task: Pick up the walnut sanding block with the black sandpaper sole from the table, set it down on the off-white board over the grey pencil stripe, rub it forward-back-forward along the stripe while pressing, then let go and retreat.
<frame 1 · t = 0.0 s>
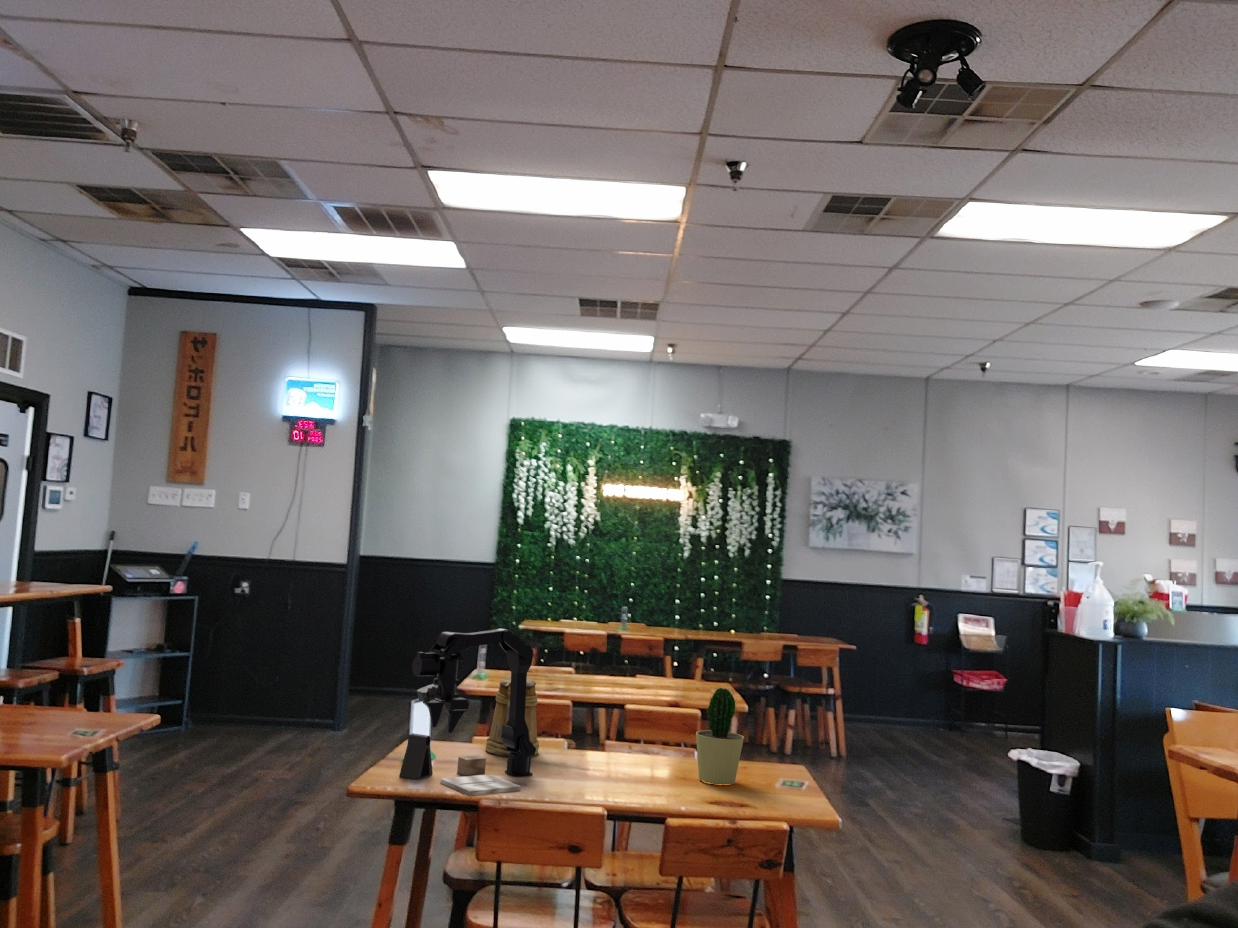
hand: (442, 729, 296), 15 cm above the table, fingers open, 9 cm apart
board: (480, 786, 293), on the table
sanding block: (470, 774, 308), on the table
potted cactus: (716, 782, 323), on the table
phone stand: (415, 776, 300), on the table
tankard: (510, 753, 343), on the table
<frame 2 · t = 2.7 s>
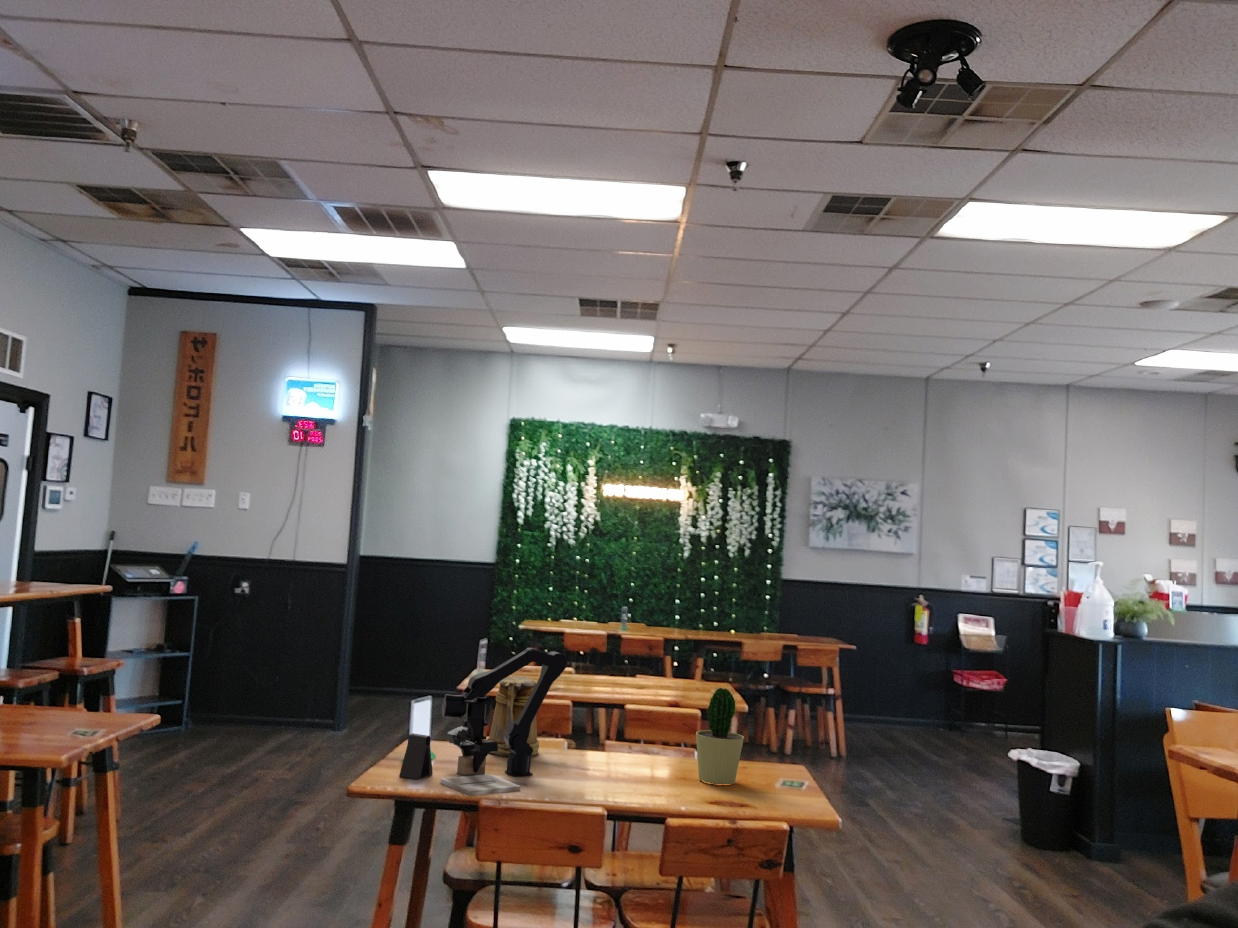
hand: (471, 770, 308), 1 cm above the table, fingers closed on sanding block, 4 cm apart
sanding block: (470, 773, 308), on the table, touching gripper
everything else where it was.
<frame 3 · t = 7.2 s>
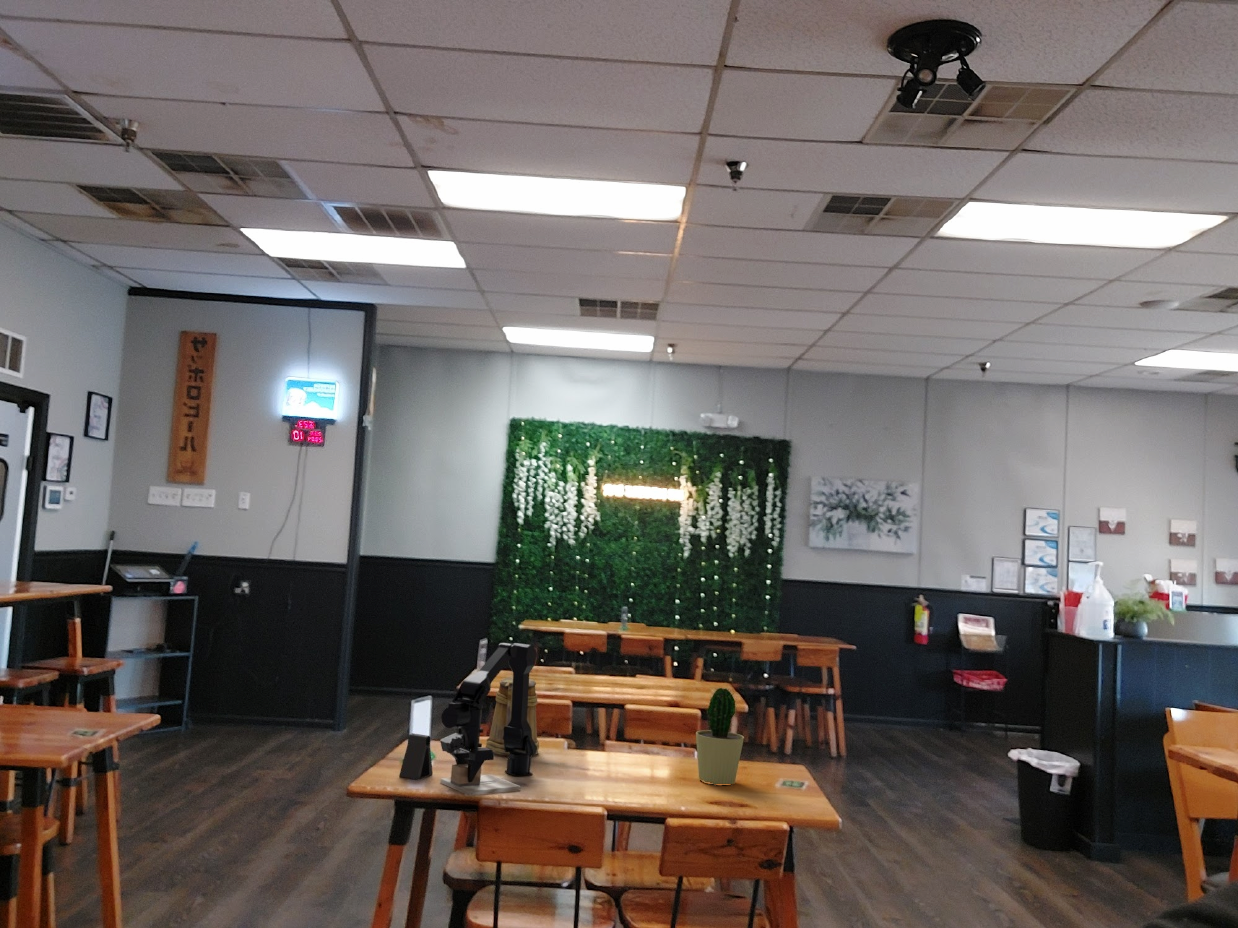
hand: (465, 780, 289), 2 cm above the table, fingers closed on sanding block, 4 cm apart
sanding block: (465, 783, 289), point 1 cm above the table, touching gripper
everything else where it was.
when the fingers open (2 cm above the table, at t = 11.8 s): sanding block stays where it is, resting on board.
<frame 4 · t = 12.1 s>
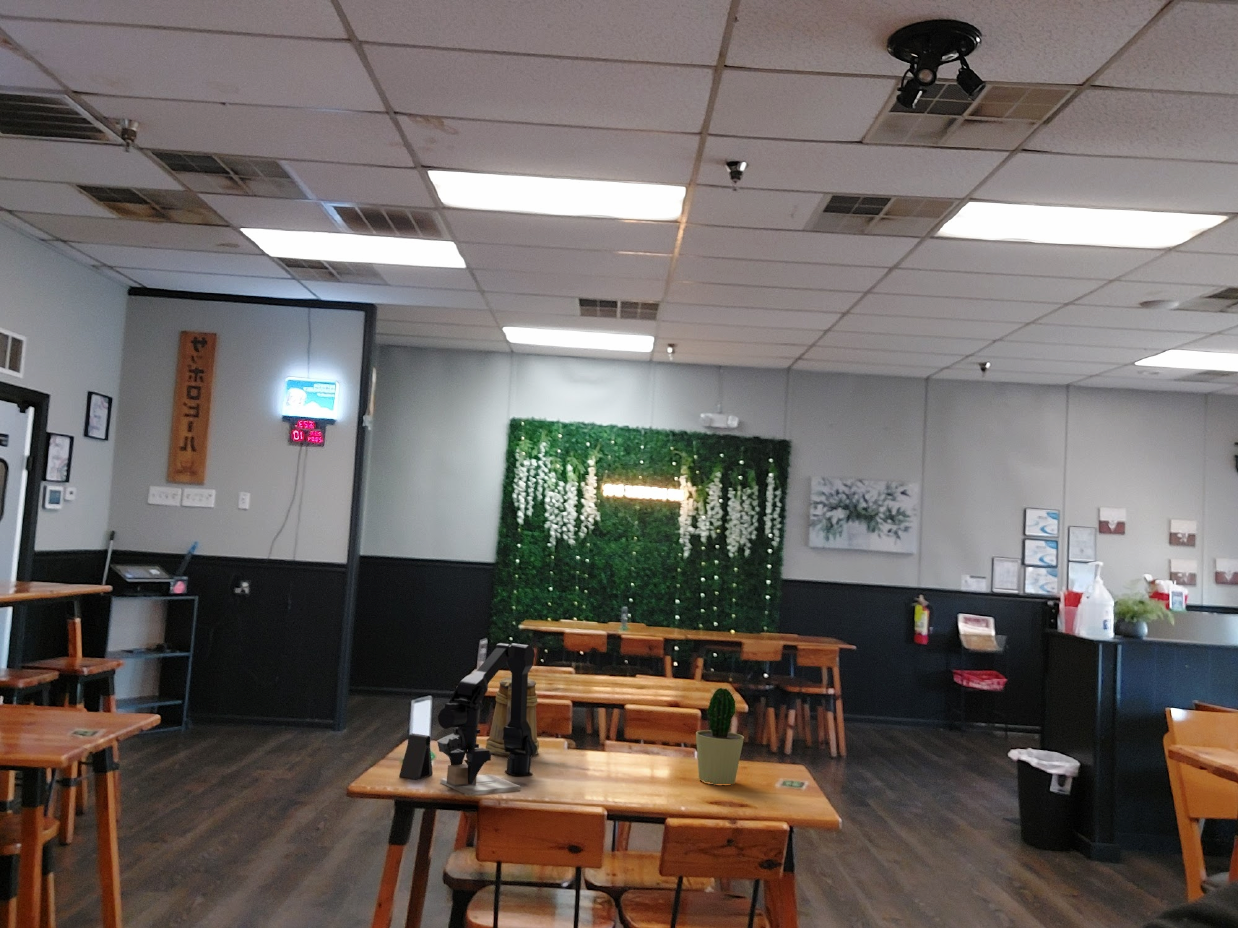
hand: (462, 780, 289), 2 cm above the table, fingers open, 8 cm apart
sanding block: (461, 783, 289), point 1 cm above the table, touching board
everything else where it was.
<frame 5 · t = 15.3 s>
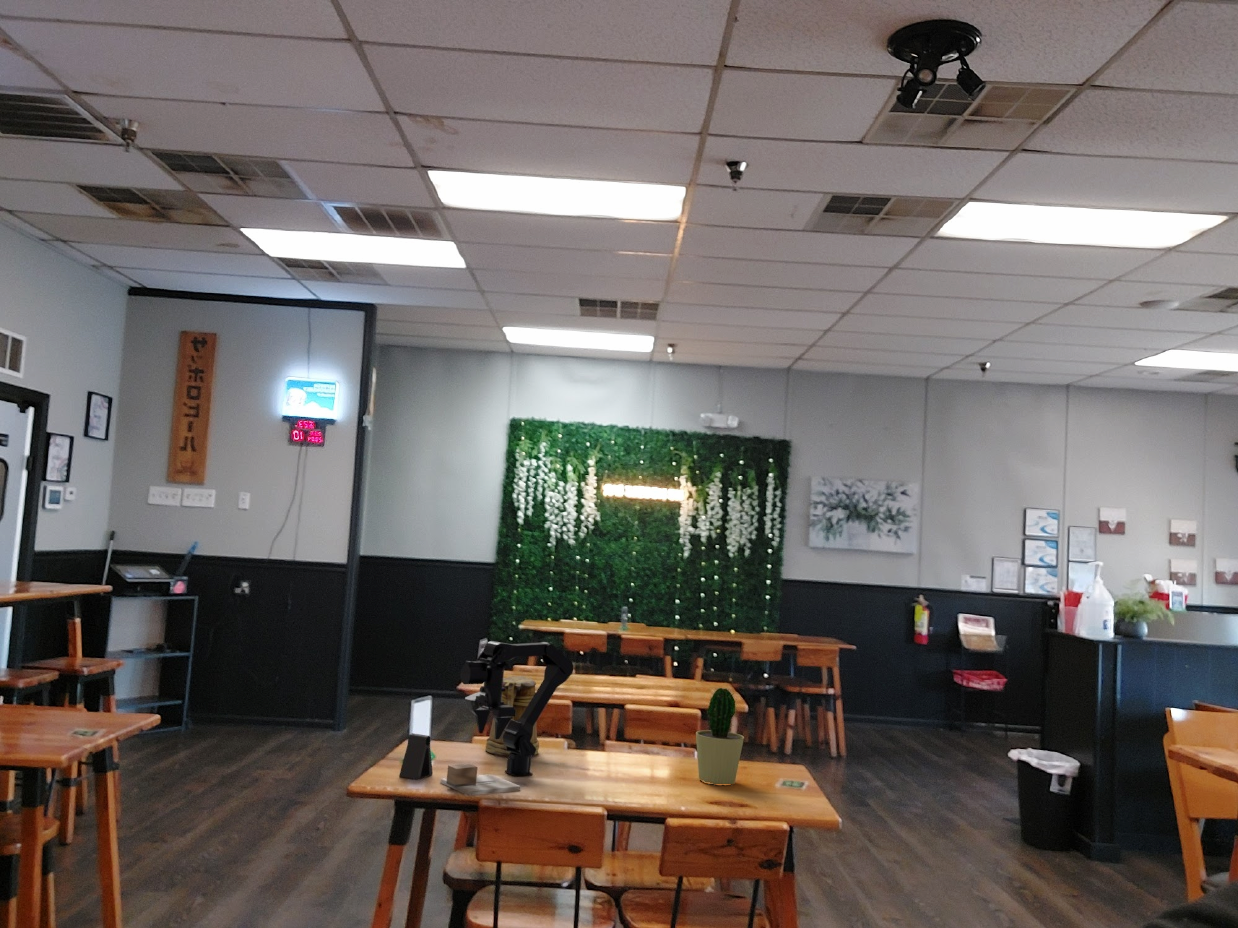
hand: (488, 736, 306), 12 cm above the table, fingers open, 9 cm apart
nothing on the table moved.
at the end: sanding block inside the target area (0.4 cm from its centre), point 1.2 cm above the table; sanding block tilted 0°; the gripper is holding nothing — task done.
